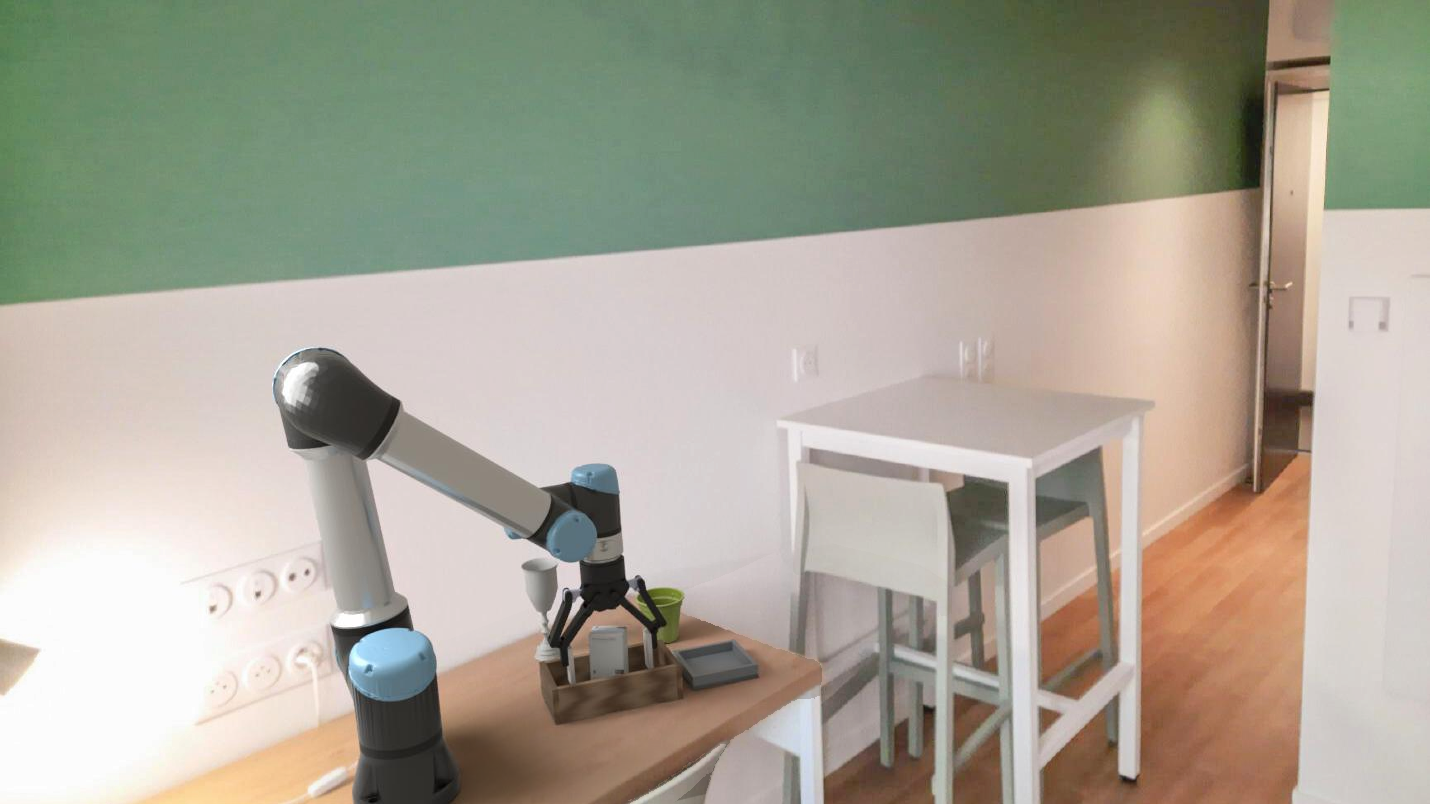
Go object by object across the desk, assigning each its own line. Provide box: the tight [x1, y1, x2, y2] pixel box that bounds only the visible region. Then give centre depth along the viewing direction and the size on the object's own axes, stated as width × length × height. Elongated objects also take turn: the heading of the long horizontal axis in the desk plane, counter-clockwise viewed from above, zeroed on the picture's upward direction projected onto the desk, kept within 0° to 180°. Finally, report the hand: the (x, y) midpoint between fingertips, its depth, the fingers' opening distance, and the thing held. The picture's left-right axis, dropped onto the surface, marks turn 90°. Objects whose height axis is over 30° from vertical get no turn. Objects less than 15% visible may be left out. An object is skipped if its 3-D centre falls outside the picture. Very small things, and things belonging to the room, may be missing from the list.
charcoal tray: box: [672, 639, 760, 692], centre depth 193 cm, size 12×12×2 cm
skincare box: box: [588, 625, 629, 680], centre depth 185 cm, size 6×4×12 cm
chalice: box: [520, 557, 560, 662], centre depth 202 cm, size 7×7×18 cm
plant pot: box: [635, 586, 686, 644], centre depth 208 cm, size 9×9×9 cm
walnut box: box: [538, 639, 684, 725], centre depth 185 cm, size 22×12×6 cm, turn 109°
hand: (611, 674), depth 185 cm, fingers open, 13 cm apart
